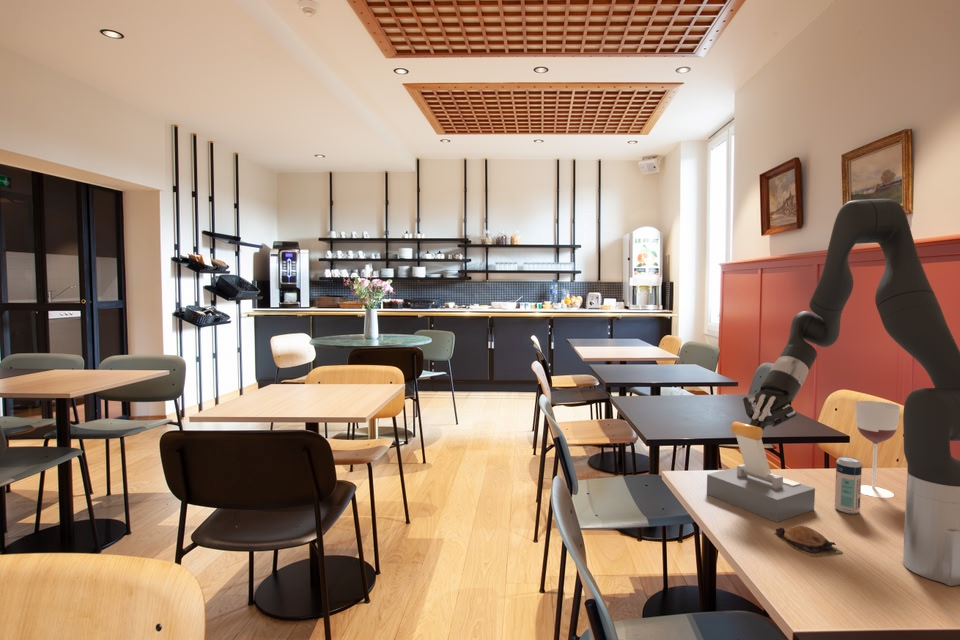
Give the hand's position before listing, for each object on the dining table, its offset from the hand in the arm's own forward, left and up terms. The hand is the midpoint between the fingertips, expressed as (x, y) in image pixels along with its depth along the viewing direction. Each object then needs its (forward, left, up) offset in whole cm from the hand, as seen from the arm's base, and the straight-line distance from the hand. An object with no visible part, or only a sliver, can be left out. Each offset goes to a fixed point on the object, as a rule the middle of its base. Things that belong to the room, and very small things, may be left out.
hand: (751, 435), depth 125 cm
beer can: (-8, -19, -17) cm, 27 cm away
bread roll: (-19, +3, -17) cm, 26 cm away
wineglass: (0, -36, -17) cm, 40 cm away
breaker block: (+1, -3, -16) cm, 17 cm away
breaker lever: (+1, -3, -10) cm, 10 cm away
